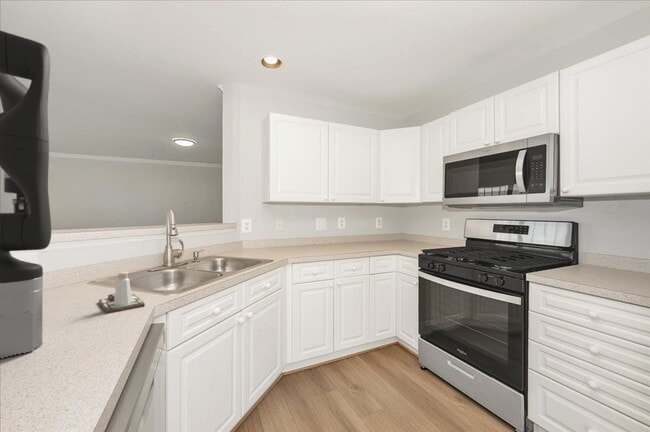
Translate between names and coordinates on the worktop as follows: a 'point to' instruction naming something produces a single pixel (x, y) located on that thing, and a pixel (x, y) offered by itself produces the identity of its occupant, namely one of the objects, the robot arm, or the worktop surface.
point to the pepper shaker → (123, 290)
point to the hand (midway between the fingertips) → (22, 233)
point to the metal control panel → (111, 307)
